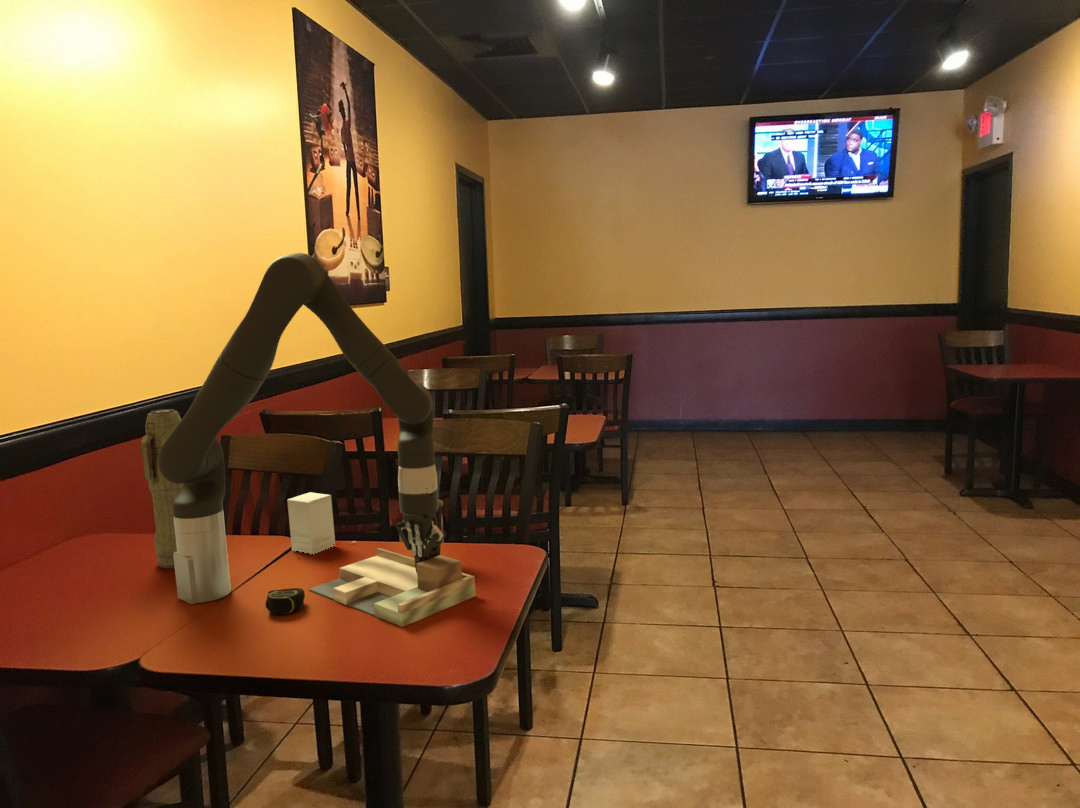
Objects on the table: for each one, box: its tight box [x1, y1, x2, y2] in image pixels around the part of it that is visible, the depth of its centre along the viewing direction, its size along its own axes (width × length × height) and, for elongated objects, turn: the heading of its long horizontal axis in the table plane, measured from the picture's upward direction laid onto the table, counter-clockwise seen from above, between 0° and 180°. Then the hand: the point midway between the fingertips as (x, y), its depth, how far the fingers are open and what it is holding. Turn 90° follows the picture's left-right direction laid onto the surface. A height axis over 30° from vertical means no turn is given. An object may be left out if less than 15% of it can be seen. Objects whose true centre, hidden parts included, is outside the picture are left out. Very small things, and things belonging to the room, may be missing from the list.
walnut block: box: [416, 554, 463, 592], centre depth 156 cm, size 6×6×5 cm
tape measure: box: [265, 587, 306, 615], centre depth 154 cm, size 7×7×4 cm
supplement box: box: [287, 491, 336, 555], centre depth 191 cm, size 7×7×13 cm
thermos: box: [140, 408, 183, 569], centre depth 183 cm, size 9×12×35 cm
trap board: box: [308, 547, 476, 628], centre depth 161 cm, size 18×30×4 cm, turn 48°
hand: (422, 572), depth 160 cm, fingers closed
